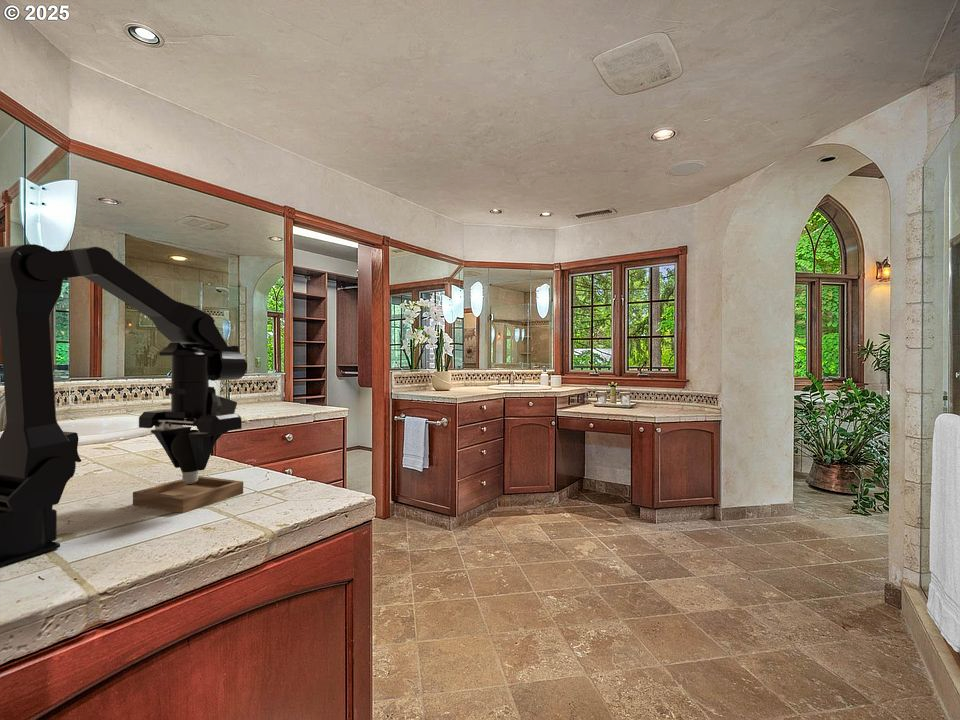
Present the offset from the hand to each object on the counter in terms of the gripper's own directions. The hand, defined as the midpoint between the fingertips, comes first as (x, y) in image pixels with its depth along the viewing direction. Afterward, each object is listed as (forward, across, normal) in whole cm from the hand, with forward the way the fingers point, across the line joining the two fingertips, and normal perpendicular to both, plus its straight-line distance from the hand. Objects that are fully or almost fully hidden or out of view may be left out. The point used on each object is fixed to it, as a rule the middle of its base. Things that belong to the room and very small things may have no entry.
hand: (189, 468), depth 84 cm
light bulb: (+3, 0, 0) cm, 3 cm away
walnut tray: (+5, 0, 0) cm, 5 cm away
